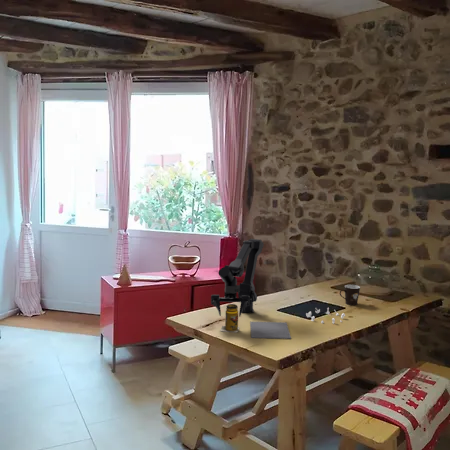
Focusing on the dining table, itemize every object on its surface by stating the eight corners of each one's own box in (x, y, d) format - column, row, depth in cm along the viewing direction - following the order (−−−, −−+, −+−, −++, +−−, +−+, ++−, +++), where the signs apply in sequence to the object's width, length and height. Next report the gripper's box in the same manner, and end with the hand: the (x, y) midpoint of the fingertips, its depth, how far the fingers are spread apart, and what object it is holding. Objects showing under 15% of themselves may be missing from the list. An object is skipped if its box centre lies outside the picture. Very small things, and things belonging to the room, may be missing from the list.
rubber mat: (250, 322, 259) (250, 321, 259) (286, 323, 258) (286, 322, 258) (251, 337, 237) (251, 336, 237) (290, 339, 236) (290, 337, 236)
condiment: (237, 332, 244) (238, 307, 242) (219, 331, 245) (220, 306, 243) (239, 327, 251) (240, 303, 249) (222, 326, 252) (222, 302, 251)
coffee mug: (357, 302, 300) (358, 285, 298) (360, 306, 291) (361, 288, 290) (337, 301, 301) (338, 284, 300) (339, 305, 292) (340, 287, 291)
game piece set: (346, 315, 275) (346, 308, 274) (341, 326, 256) (342, 319, 256) (310, 311, 281) (310, 304, 281) (302, 322, 263) (302, 314, 262)
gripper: (211, 278, 249) (209, 307, 240) (250, 279, 249) (250, 308, 239) (212, 290, 258) (210, 318, 249) (249, 291, 258) (249, 319, 248)
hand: (229, 315), depth 246 cm, fingers open, 9 cm apart
